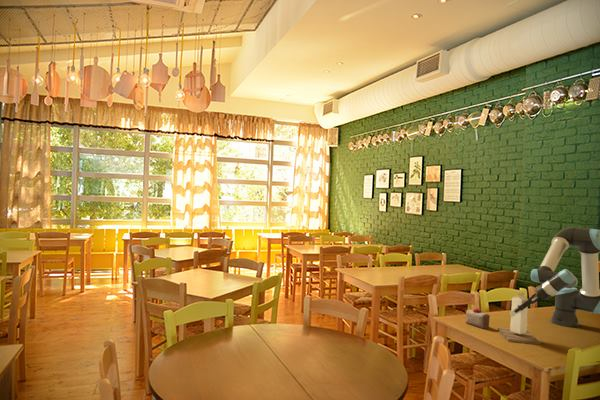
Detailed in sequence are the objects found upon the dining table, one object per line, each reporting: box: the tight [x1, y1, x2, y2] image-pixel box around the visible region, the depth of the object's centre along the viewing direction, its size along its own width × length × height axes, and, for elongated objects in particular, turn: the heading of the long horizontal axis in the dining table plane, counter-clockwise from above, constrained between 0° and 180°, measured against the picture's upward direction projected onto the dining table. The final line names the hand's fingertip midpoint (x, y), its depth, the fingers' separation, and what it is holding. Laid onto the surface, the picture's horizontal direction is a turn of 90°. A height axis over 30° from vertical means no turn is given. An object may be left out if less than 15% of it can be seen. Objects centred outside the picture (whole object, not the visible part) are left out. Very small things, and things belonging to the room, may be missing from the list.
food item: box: [465, 308, 490, 329], centre depth 262 cm, size 14×8×10 cm, turn 32°
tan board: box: [497, 327, 541, 346], centre depth 243 cm, size 20×16×2 cm
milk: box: [509, 292, 529, 334], centre depth 243 cm, size 6×6×22 cm
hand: (512, 313), depth 245 cm, fingers closed on milk, 7 cm apart
